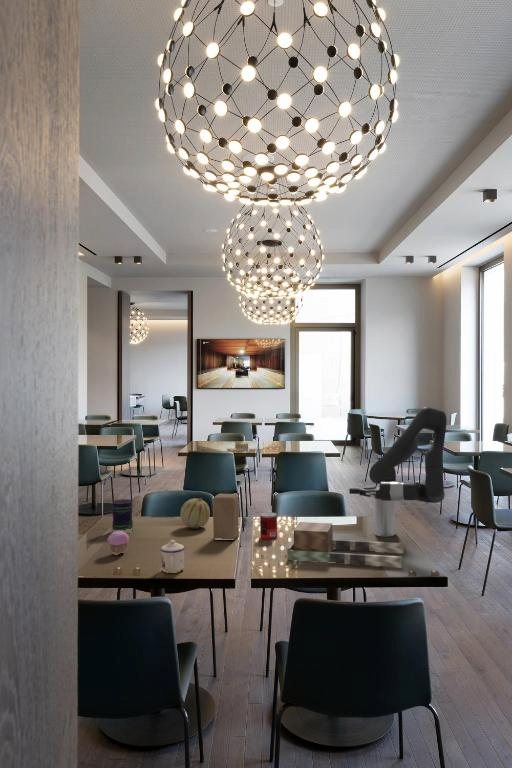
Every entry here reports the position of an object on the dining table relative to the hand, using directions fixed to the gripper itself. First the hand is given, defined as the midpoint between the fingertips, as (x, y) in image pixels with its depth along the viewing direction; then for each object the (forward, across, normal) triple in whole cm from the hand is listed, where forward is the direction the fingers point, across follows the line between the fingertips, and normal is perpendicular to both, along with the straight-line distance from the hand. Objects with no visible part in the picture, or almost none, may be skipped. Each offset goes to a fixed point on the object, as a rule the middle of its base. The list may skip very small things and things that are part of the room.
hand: (349, 490), depth 248 cm
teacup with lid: (+63, +38, +25) cm, 78 cm away
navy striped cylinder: (+115, -9, +23) cm, 117 cm away
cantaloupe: (+83, -25, +24) cm, 90 cm away
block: (+61, -11, +25) cm, 67 cm away
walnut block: (+16, +3, +27) cm, 31 cm away
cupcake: (+96, +25, +24) cm, 102 cm away
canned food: (+42, -18, +26) cm, 53 cm away
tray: (+3, +1, +27) cm, 27 cm away
